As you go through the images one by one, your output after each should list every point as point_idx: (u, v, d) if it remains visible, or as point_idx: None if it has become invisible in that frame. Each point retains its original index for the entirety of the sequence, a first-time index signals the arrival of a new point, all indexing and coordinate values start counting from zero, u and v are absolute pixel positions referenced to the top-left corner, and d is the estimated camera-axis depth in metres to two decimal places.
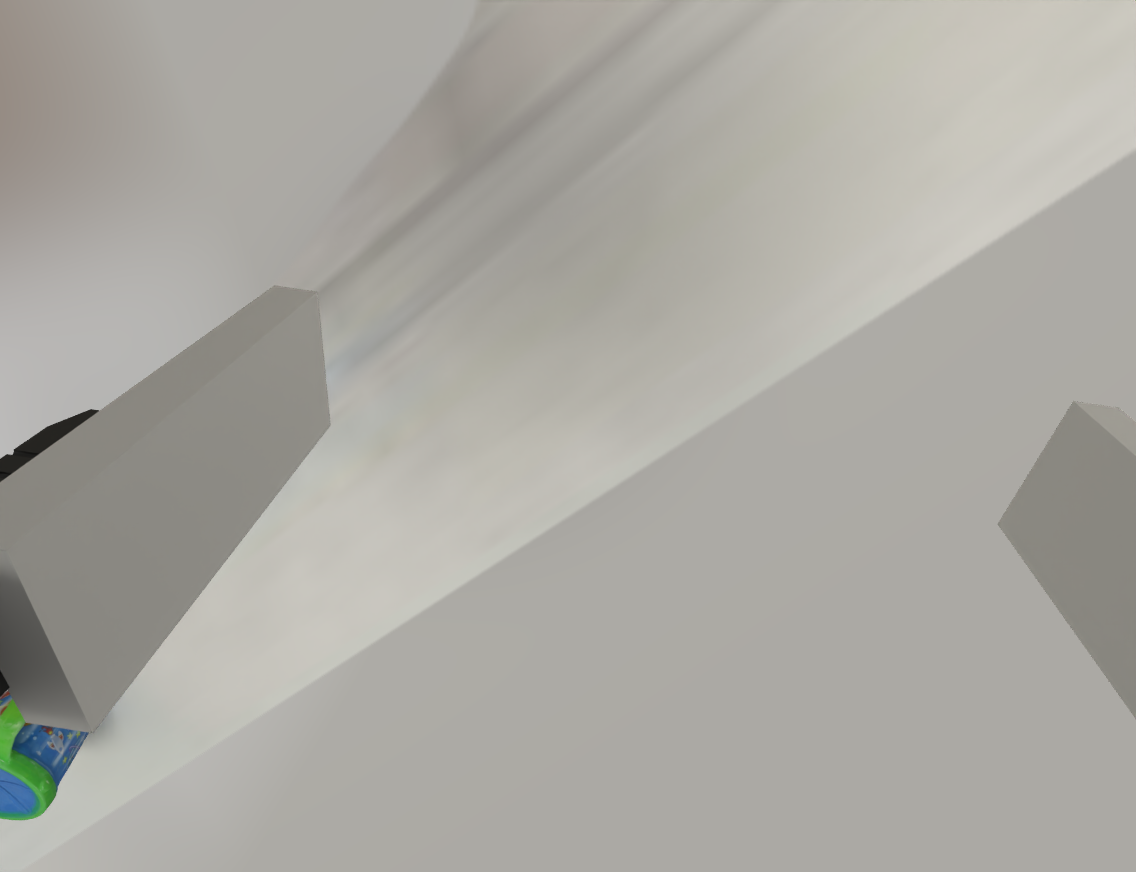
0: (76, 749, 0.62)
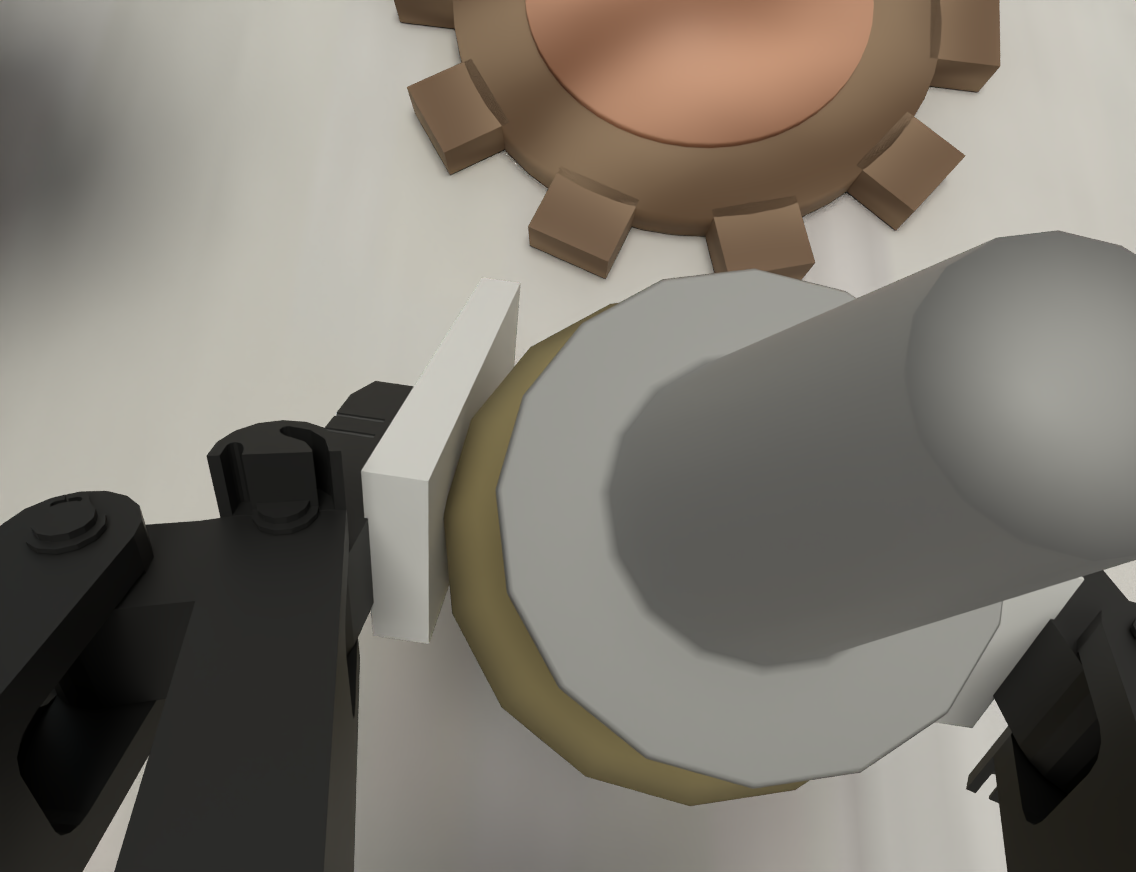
0: None
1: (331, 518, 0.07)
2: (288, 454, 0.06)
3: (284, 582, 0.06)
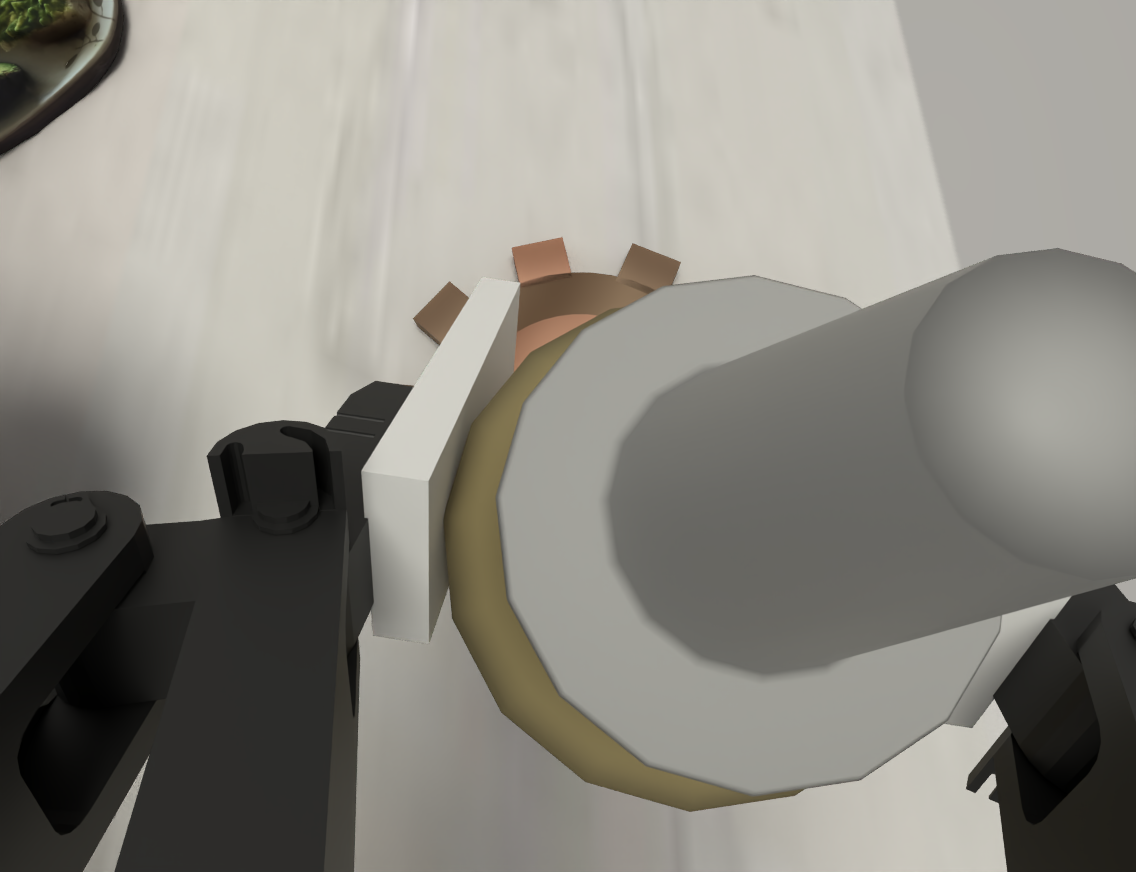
0: None
1: (331, 518, 0.07)
2: (288, 454, 0.06)
3: (284, 582, 0.06)
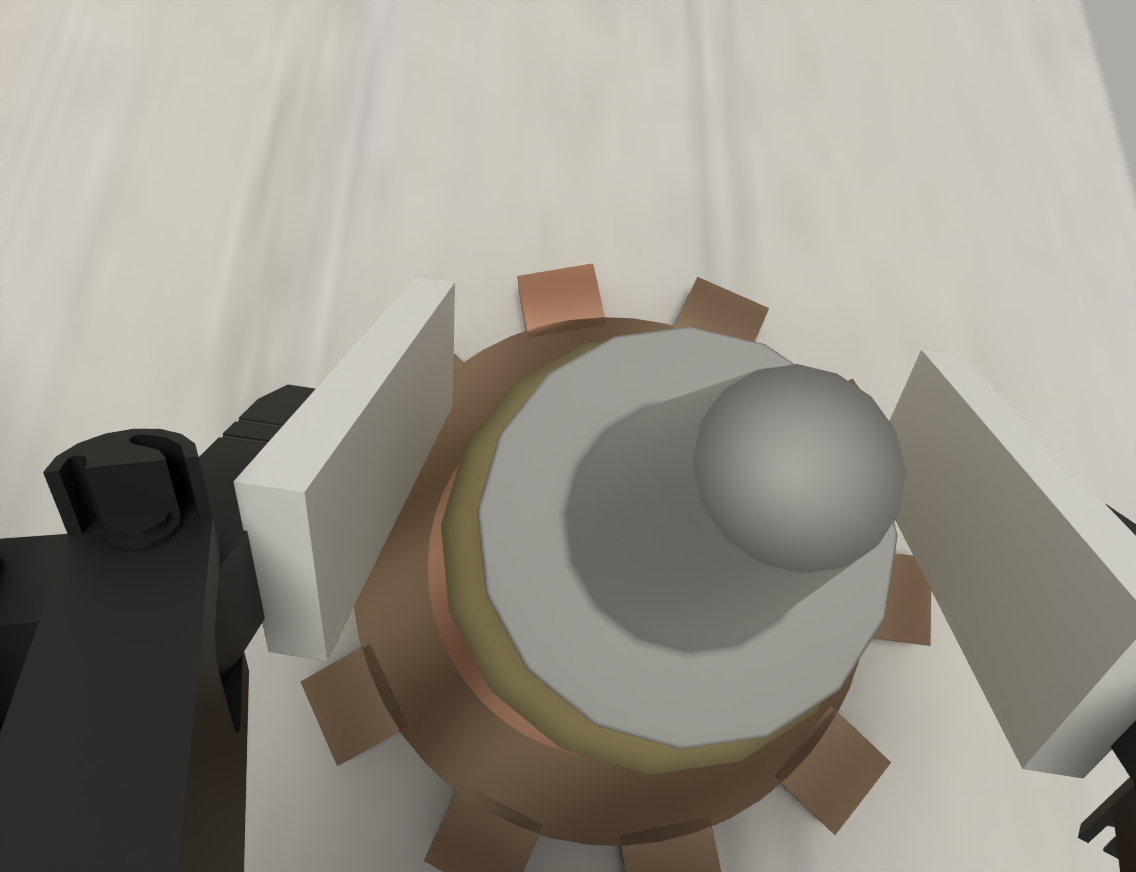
0: None
1: (195, 528, 0.06)
2: (138, 464, 0.06)
3: (140, 599, 0.06)
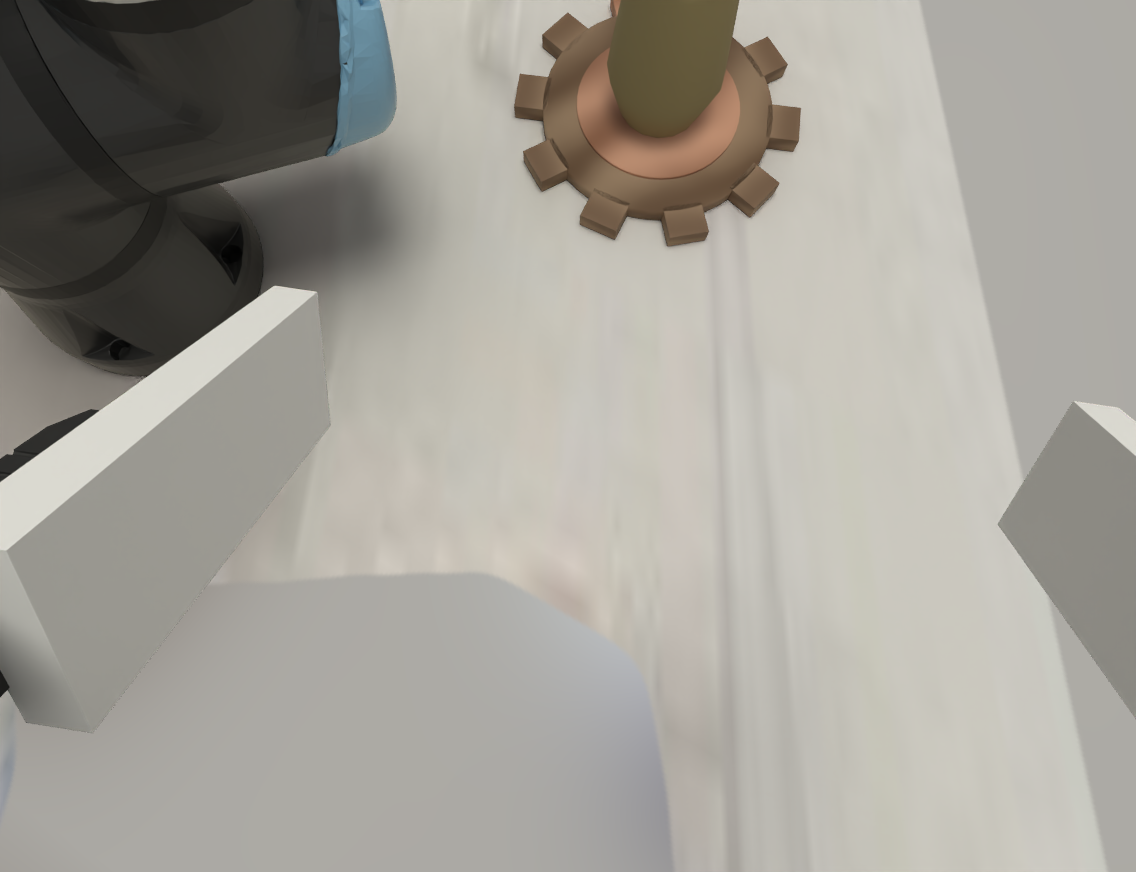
0: None
1: None
2: None
3: None
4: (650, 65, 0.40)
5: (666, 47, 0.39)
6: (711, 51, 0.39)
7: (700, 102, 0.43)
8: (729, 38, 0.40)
